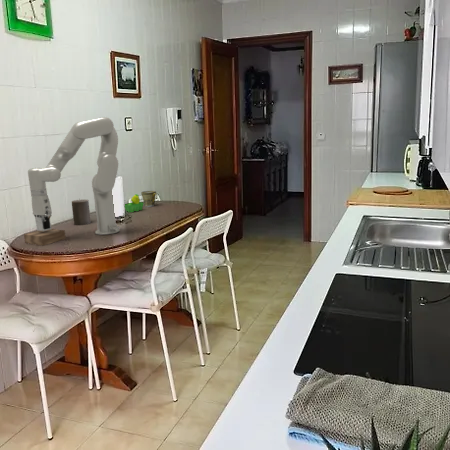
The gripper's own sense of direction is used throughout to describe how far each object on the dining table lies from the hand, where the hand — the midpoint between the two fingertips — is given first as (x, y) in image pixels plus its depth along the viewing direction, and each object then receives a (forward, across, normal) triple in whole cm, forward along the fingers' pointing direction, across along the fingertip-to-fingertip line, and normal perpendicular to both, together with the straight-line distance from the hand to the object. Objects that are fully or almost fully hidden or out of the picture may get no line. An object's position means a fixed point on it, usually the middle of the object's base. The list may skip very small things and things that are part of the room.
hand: (44, 227), depth 252 cm
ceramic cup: (+7, +18, -94) cm, 96 cm away
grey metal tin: (+1, 0, 0) cm, 1 cm away
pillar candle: (+7, +18, -37) cm, 42 cm away
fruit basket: (+7, +16, -77) cm, 79 cm away
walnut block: (+7, 0, 0) cm, 7 cm away
